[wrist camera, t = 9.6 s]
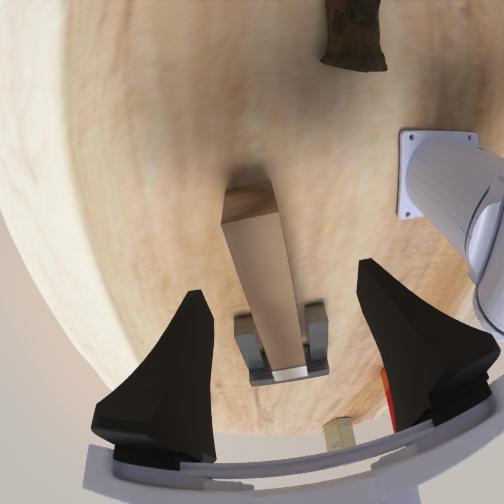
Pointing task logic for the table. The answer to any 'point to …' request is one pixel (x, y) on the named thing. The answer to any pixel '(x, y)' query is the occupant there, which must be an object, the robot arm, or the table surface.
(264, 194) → the walnut rail
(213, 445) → the robot arm
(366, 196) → the table surface
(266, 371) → the u-shaped metal bracket
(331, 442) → the skincare box
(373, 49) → the hand tool
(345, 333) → the table surface
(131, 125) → the table surface
